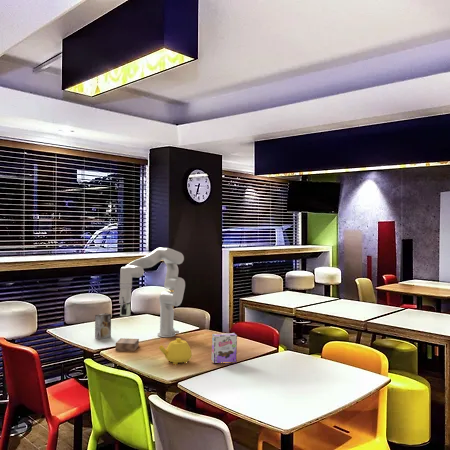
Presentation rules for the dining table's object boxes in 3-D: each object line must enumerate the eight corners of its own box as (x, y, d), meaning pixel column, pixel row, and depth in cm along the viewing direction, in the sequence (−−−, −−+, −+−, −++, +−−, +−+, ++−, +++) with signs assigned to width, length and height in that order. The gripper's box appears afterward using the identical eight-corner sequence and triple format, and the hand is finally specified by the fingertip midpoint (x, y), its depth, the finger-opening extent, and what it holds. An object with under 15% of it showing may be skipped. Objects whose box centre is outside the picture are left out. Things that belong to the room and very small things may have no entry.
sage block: (130, 314, 297) (130, 304, 297) (127, 316, 292) (127, 305, 292) (122, 314, 298) (123, 303, 298) (120, 315, 293) (120, 305, 293)
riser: (138, 346, 297) (138, 338, 297) (134, 351, 285) (134, 343, 285) (120, 345, 297) (120, 338, 297) (115, 350, 285) (115, 343, 285)
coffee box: (105, 335, 323) (105, 312, 323) (111, 336, 319) (111, 314, 319) (94, 337, 316) (95, 314, 316) (100, 339, 312) (100, 315, 312)
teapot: (163, 368, 251) (164, 344, 251) (153, 361, 264) (153, 337, 265) (196, 364, 261) (196, 340, 261) (184, 357, 275) (184, 334, 275)
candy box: (213, 364, 261) (214, 335, 261) (211, 361, 267) (211, 333, 267) (236, 363, 265) (237, 334, 265) (233, 360, 270) (234, 332, 270)
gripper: (125, 284, 304) (124, 311, 304) (115, 287, 287) (114, 316, 287) (135, 284, 303) (135, 311, 303) (126, 287, 286) (126, 316, 286)
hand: (125, 313), depth 295 cm, fingers closed on sage block, 5 cm apart
